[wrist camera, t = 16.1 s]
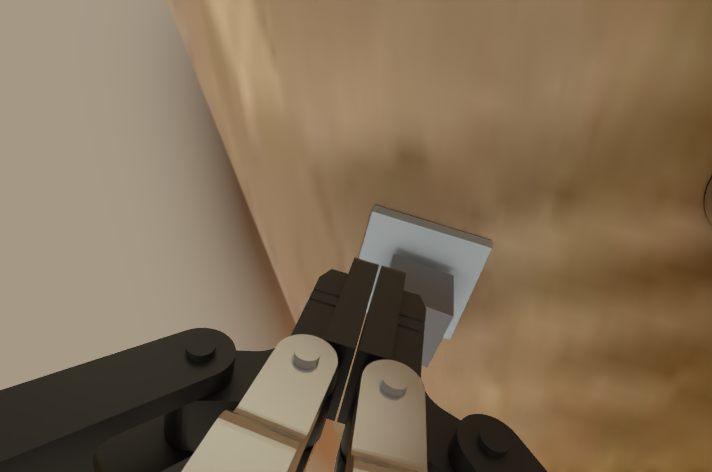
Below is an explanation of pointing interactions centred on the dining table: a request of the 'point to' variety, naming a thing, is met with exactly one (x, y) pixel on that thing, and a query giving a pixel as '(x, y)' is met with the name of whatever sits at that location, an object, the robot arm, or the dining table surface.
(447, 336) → the post base
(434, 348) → the block
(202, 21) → the dining table surface
